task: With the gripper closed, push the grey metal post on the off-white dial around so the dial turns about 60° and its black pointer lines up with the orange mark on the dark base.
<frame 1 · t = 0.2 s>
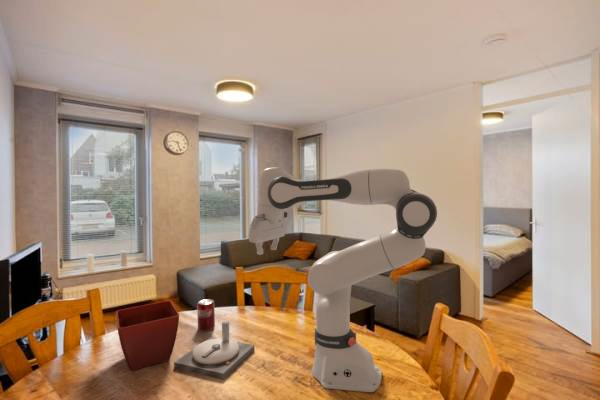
hand: (267, 251, 110), 39 cm above the table, tool pointing down, fingers open, 8 cm apart
soda can: (206, 328, 138), on the table
dial: (216, 340, 112), point 7 cm above the table, hinge at 0.0°
dial base: (216, 358, 112), on the table
plant pot: (148, 358, 113), on the table
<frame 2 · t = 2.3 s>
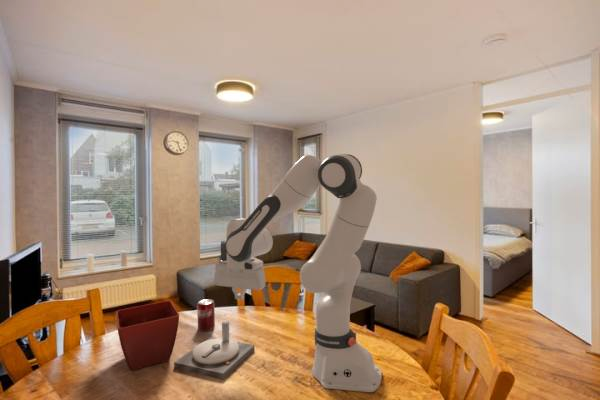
hand: (239, 299, 115), 20 cm above the table, tool pointing down, fingers closed
nothing on the table moved.
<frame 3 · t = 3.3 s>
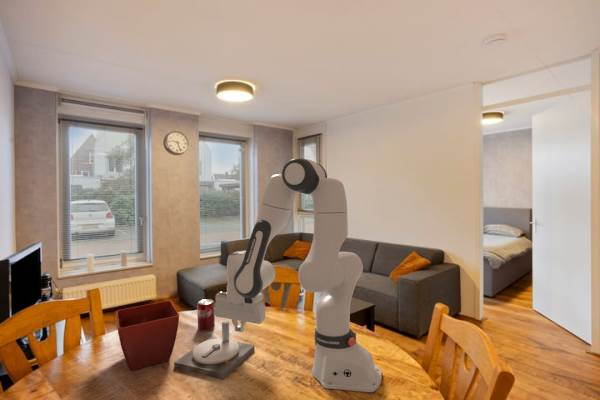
hand: (239, 331, 115), 8 cm above the table, tool pointing down, fingers closed
nothing on the table moved.
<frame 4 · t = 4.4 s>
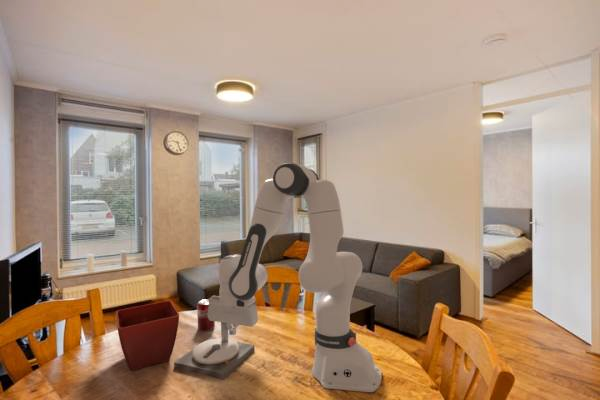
hand: (232, 334, 116), 7 cm above the table, tool pointing down, fingers closed
dial: (216, 340, 112), point 7 cm above the table, hinge at 3.9°, touching gripper
everything else where it was.
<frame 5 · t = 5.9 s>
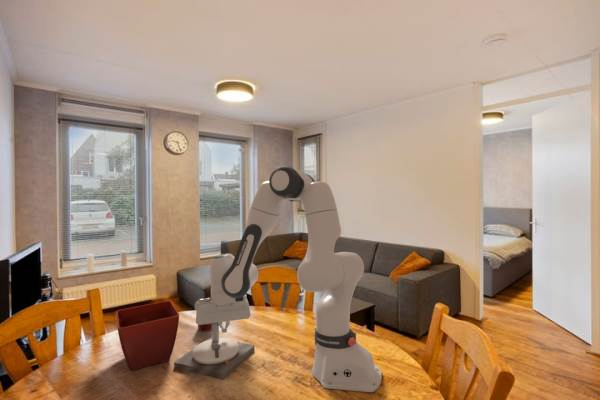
hand: (224, 332, 118), 7 cm above the table, tool pointing down, fingers closed
dial: (216, 340, 112), point 7 cm above the table, hinge at 39.0°, touching gripper
everything else where it was.
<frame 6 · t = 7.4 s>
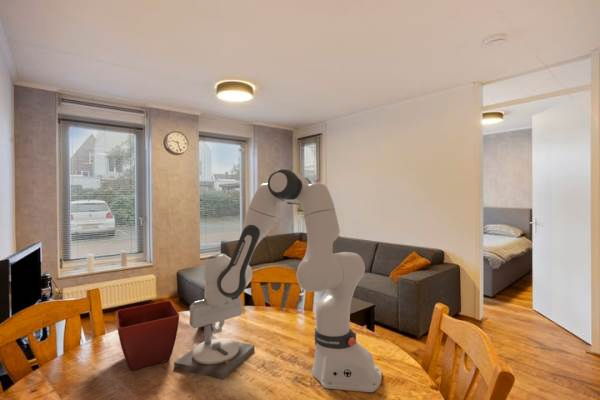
hand: (217, 332, 118), 7 cm above the table, tool pointing down, fingers closed
dial: (216, 340, 112), point 7 cm above the table, hinge at 66.0°, touching gripper
everything else where it was.
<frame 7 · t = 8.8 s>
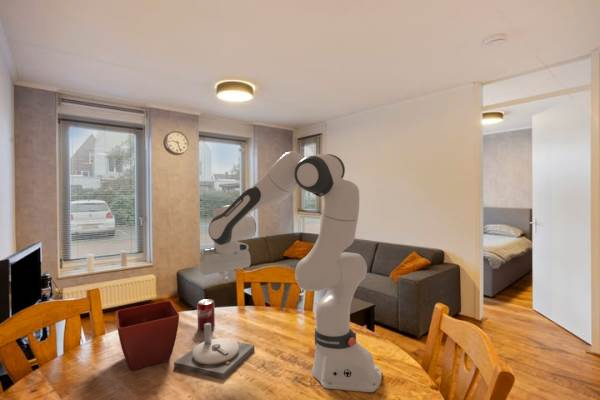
hand: (226, 281, 122), 25 cm above the table, tool pointing down, fingers closed
dial: (216, 340, 112), point 7 cm above the table, hinge at 66.0°
everything else where it was.
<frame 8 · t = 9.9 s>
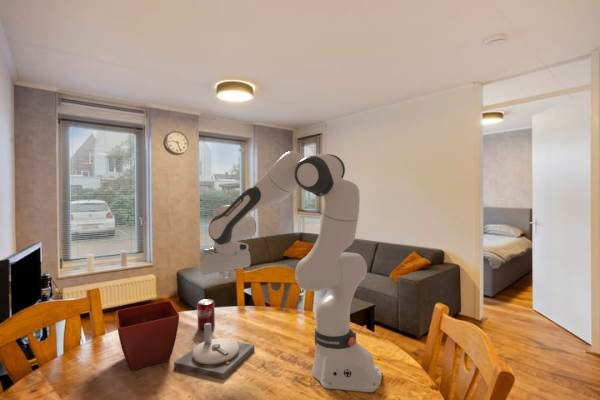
hand: (226, 281, 122), 25 cm above the table, tool pointing down, fingers closed
nothing on the table moved.
at the end: dial at +66° (first picture: +0°); soda can moved 0.2 cm from its start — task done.
